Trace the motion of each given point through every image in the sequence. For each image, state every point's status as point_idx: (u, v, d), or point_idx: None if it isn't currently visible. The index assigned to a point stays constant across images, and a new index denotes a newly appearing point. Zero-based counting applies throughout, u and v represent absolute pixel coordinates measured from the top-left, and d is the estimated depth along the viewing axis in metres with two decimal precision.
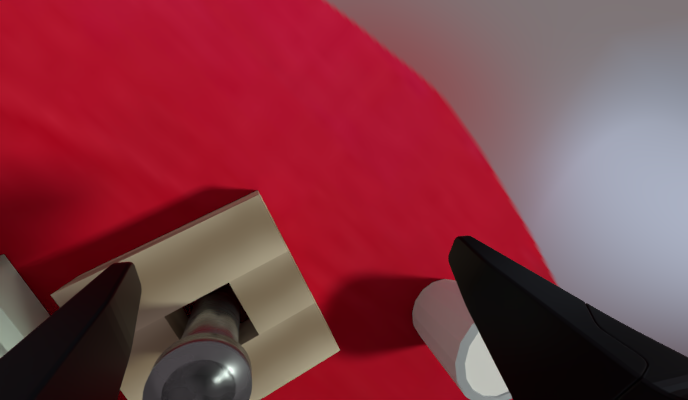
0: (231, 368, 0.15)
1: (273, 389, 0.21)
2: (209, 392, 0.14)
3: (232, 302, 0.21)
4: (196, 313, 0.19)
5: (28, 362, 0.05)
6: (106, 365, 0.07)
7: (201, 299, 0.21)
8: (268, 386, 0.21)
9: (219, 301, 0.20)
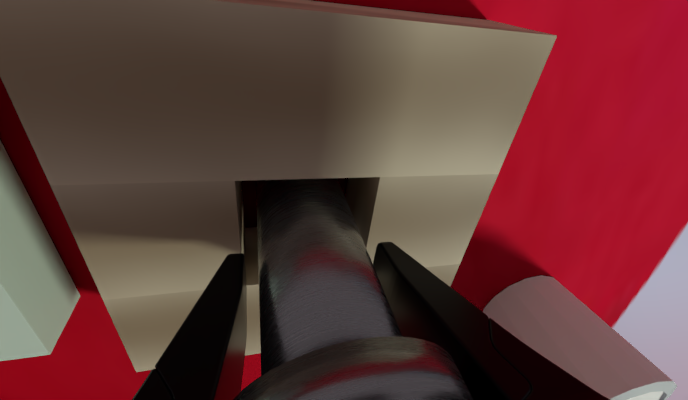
0: None
1: None
2: None
3: None
4: (306, 210, 0.09)
5: (201, 339, 0.06)
6: (240, 346, 0.07)
7: None
8: None
9: (340, 198, 0.10)
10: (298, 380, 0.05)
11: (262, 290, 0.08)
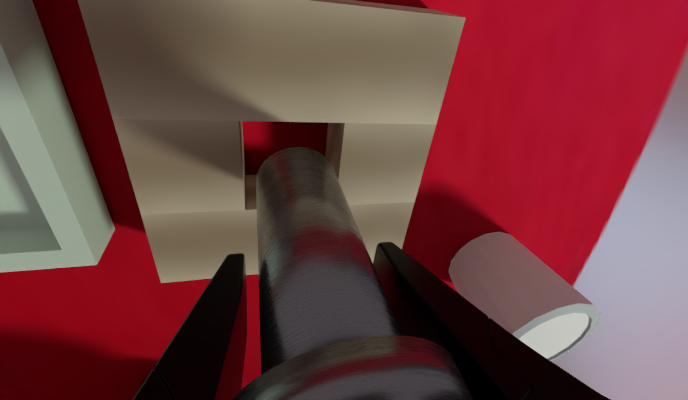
0: None
1: None
2: None
3: None
4: (306, 209, 0.09)
5: (201, 339, 0.06)
6: (240, 346, 0.07)
7: (299, 172, 0.10)
8: None
9: (340, 197, 0.10)
10: (298, 379, 0.05)
11: (262, 289, 0.08)
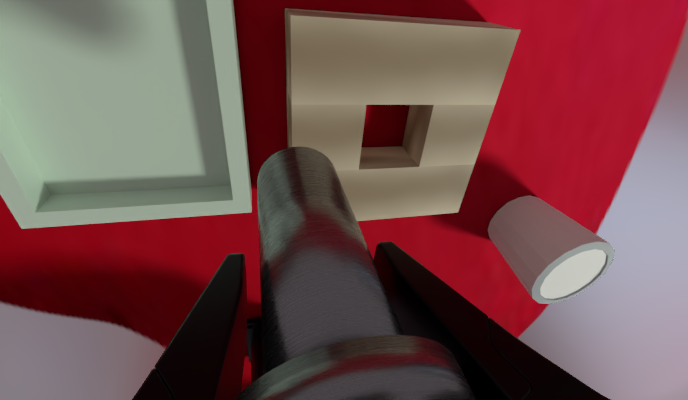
0: None
1: (395, 216, 0.23)
2: None
3: None
4: (308, 209, 0.09)
5: (202, 339, 0.06)
6: (240, 346, 0.07)
7: (300, 172, 0.10)
8: (394, 212, 0.23)
9: (341, 197, 0.10)
10: (301, 378, 0.05)
11: (264, 289, 0.08)
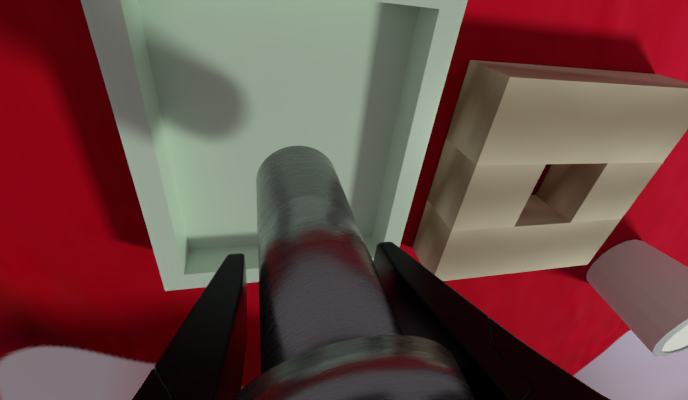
0: None
1: (529, 270, 0.21)
2: None
3: (348, 203, 0.11)
4: (306, 208, 0.09)
5: (202, 339, 0.06)
6: (240, 346, 0.07)
7: (299, 171, 0.10)
8: (530, 266, 0.21)
9: (340, 196, 0.10)
10: (298, 379, 0.04)
11: (262, 289, 0.08)
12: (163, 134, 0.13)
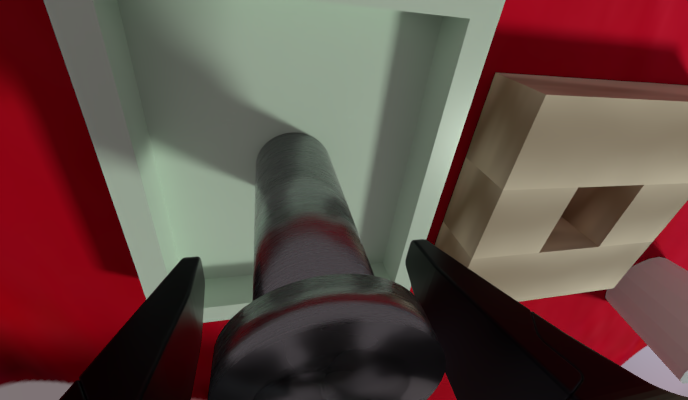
0: (416, 378, 0.06)
1: (552, 295, 0.20)
2: None
3: None
4: (298, 182, 0.09)
5: (135, 348, 0.06)
6: (187, 353, 0.07)
7: (294, 153, 0.11)
8: (553, 291, 0.20)
9: (331, 176, 0.11)
10: (278, 304, 0.05)
11: (256, 251, 0.08)
12: (152, 160, 0.12)
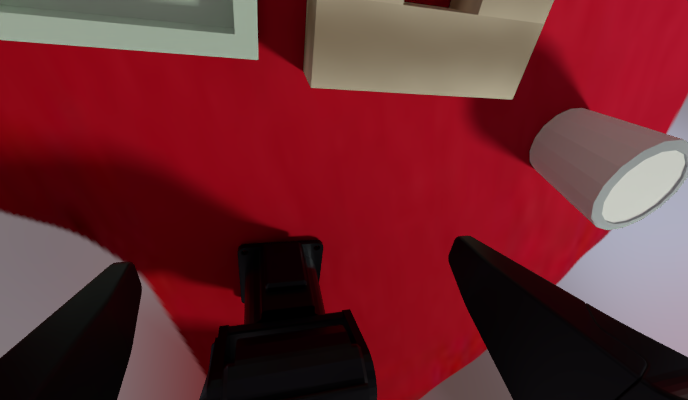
0: None
1: (438, 92, 0.18)
2: None
3: None
4: None
5: (28, 362, 0.05)
6: (106, 365, 0.07)
7: None
8: (437, 85, 0.18)
9: None
10: None
11: None
12: None
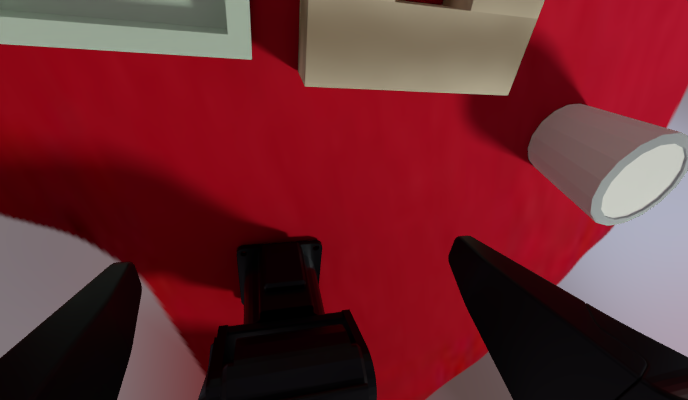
0: None
1: (433, 89, 0.18)
2: None
3: None
4: None
5: (28, 362, 0.05)
6: (106, 365, 0.07)
7: None
8: (432, 82, 0.18)
9: None
10: None
11: None
12: None
